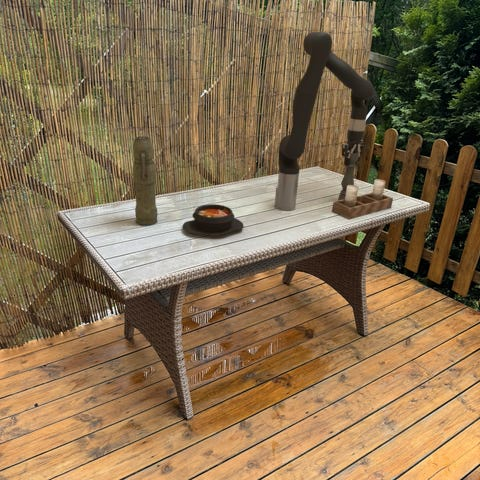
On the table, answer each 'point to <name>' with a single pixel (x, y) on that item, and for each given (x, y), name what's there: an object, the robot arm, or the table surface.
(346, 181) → the candle holder
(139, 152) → the carved stone statue
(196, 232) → the casserole
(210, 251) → the table surface
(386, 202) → the wooden candle tray
